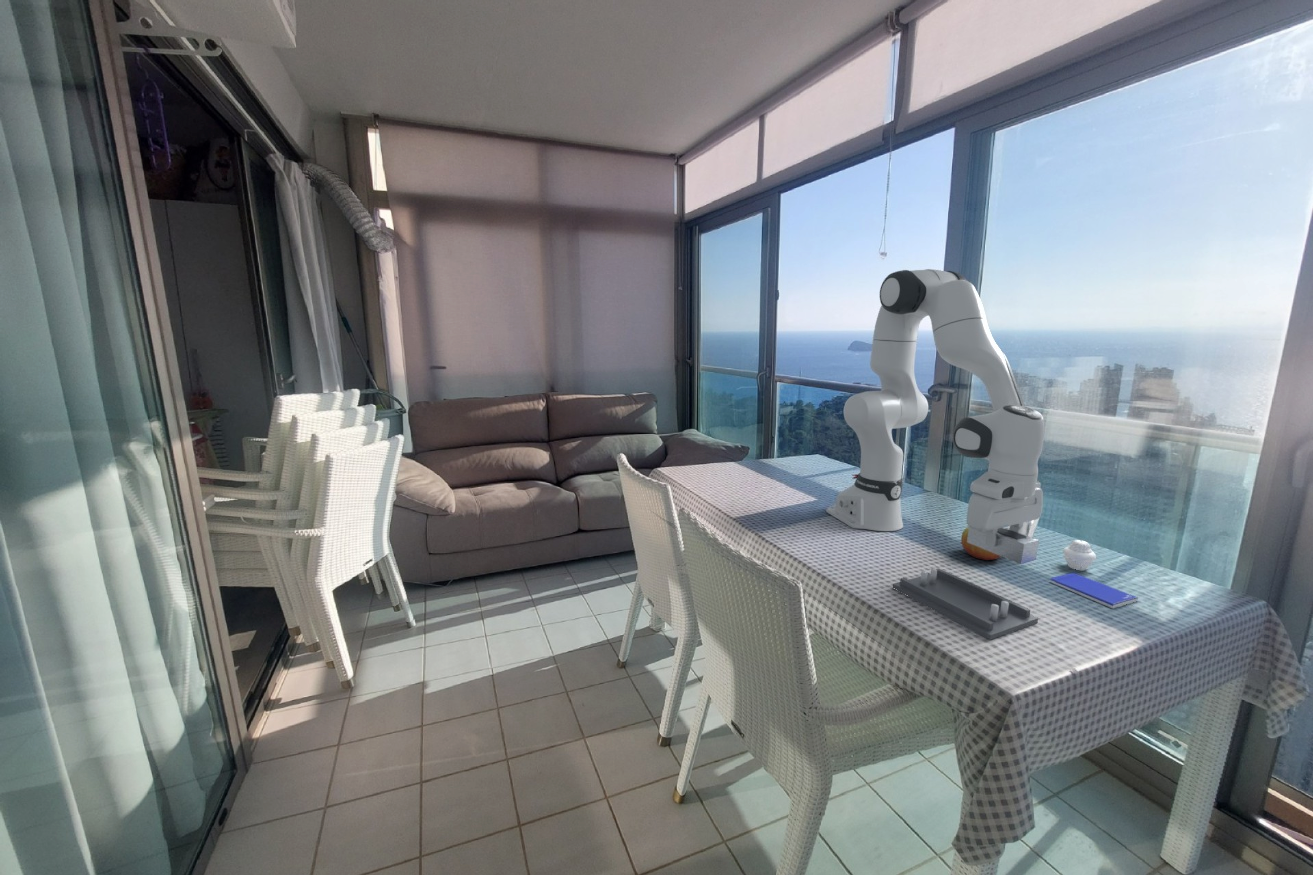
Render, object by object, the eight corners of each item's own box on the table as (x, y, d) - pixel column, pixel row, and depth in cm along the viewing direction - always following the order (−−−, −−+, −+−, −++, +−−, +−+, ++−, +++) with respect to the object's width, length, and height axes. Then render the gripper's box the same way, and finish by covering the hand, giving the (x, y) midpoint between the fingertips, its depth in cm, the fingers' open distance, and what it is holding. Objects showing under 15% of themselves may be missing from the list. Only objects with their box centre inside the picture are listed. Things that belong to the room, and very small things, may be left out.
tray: (892, 587, 117) (894, 571, 116) (936, 575, 122) (938, 559, 122) (990, 640, 97) (992, 620, 96) (1037, 622, 103) (1040, 603, 102)
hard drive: (1138, 596, 111) (1074, 572, 122) (1113, 603, 108) (1050, 577, 119) (1137, 603, 111) (1073, 578, 122) (1112, 610, 108) (1049, 584, 120)
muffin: (1059, 568, 126) (1064, 540, 125) (1061, 560, 131) (1066, 533, 129) (1093, 576, 122) (1098, 547, 121) (1094, 567, 127) (1099, 539, 125)
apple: (950, 551, 136) (953, 522, 134) (976, 545, 140) (979, 516, 138) (987, 567, 127) (991, 535, 125) (1013, 560, 131) (1018, 529, 129)
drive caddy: (966, 542, 121) (969, 523, 120) (981, 538, 123) (984, 519, 122) (1020, 564, 110) (1024, 543, 109) (1035, 559, 112) (1039, 539, 111)
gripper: (1026, 473, 120) (1016, 530, 123) (965, 484, 112) (956, 545, 115) (1056, 481, 115) (1045, 540, 118) (994, 493, 106) (984, 557, 109)
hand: (1000, 543), depth 116 cm, fingers closed on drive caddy, 5 cm apart
